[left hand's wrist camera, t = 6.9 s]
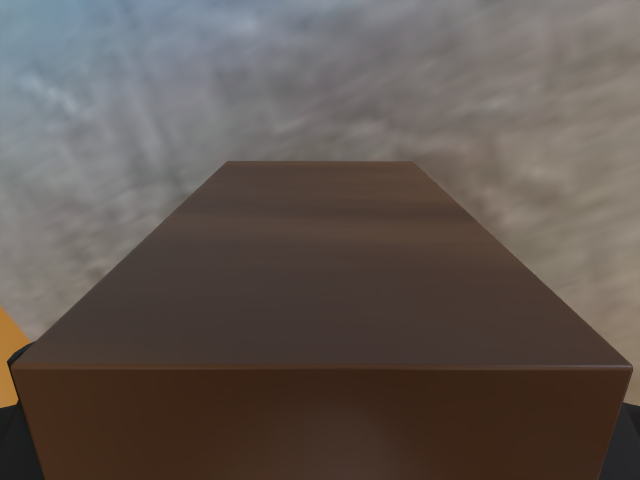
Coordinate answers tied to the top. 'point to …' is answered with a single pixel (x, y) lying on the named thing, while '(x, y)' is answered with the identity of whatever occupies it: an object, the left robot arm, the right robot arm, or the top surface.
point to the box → (321, 344)
